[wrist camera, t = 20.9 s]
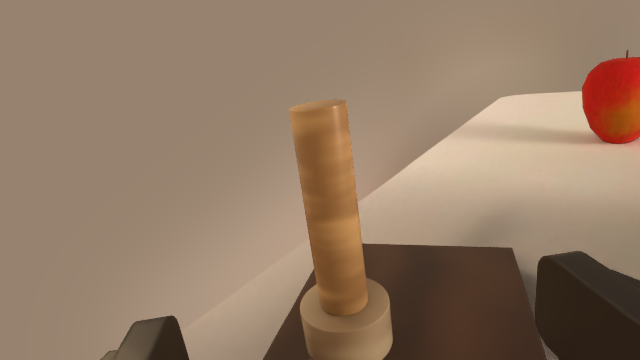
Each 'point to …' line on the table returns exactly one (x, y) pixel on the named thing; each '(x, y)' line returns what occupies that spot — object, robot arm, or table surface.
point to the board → (440, 305)
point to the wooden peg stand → (336, 242)
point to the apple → (614, 99)
